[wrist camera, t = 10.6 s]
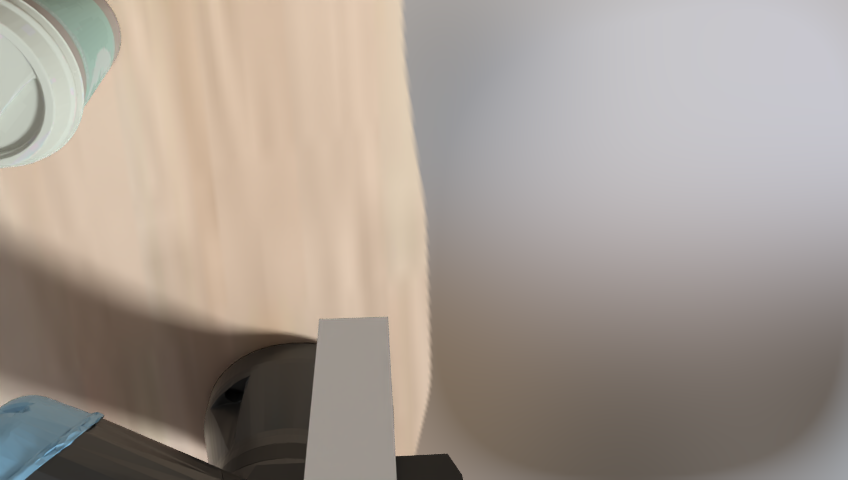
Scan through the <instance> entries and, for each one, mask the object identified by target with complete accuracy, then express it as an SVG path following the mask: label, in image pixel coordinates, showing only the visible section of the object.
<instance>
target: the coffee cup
mask: <svg viewBox="0 0 848 480" xmlns="http://www.w3.org/2000/svg"><path fill="white" fill-rule="evenodd" d="M120 45H121V33H120V27H119V24H118V21H117V18H116V16H115V14H114V12H113V10H112V9H111V7H110V6H109V4H108V3H107V2H106V1H105V0H0V168H5V167H17V166H22V165H27V164H30V163H34V162H36V161H39V160H41V159H43V158H45V157H48V156H50V155H52V154H53V153H55V152H57V151H58V150H59V149H61V148H62V147H63V146H64V145H65V144H66V143H67V142H68V141H69V140H70V139H71V137H72V136H73V135H74V133H75V131H76V130H77V128H78V126H79V123H80V121H81V117H82V114H83V108H84V106H85V105H86V103H87V102H88V100H89V99H90V97H91V96H92V94H93V93H94V91H95V90H96V88H97V87H98V85H99V84H100V82H101V81H102V79H103V78H104V76H105V75H106V73H107V72H108V70H109V69H110V67H111V66H112V64H113V63H114V61H115V59H116V58H117V55H118V53H119V50H120Z"/></svg>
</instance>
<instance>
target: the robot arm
mask: <svg viewBox="0 0 848 480" xmlns="http://www.w3.org/2000/svg"><path fill="white" fill-rule="evenodd" d="M103 417H104V415H103V414H101V413H99V412H95V413H88V412H85V411H83V410H80V409H77V408H74V407H72V406H69V405H66V404H64V403H61V402H58V401H55V400H53V399H50V398H47V397H43V396H38V395H29V396H22V397H19V398H16V399H13V400H11V401H9V402H8V403H6V404H4V405H3V406H1V407H0V480H463V478H462V474H461V473H460V471H459V470H458V468H457V467H456V465H455V464H454V463H453V461H452V460H451V458H450V457H449V455H448V454H434V455H414V456H395V438H394V411H393V401H392V382H391V364H390V345H389V326H388V317H368V318H339V319H319V328H318V339H317V344H307V343H291V344H282V345H276V346H271V347H267V348H264V349H261V350H258V351H255V352H253V353H251V354H249V355H247V356H245V357H243V358H241V359H240V360H238V361H237V362H235V363H234V364H233V365H231V366H230V367H229V368H228V369H227V370H226V371H225V372H224V373H223V374H222V375H221V377H220V378H219V379H218V381H217V383H216V384H215V386H214V388H213V391H212V393H211V397H210V400H209V403H208V407H207V410H206V414H205V421H204V436H205V443H206V450H207V456H208V463H206V462H204V461H202V460H199V459H197V458H195V457H192V456H190V455H188V454H185V453H183V452H181V451H178V450H176V449H174V448H171V447H169V446H167V445H164V444H162V443H160V442H157V441H155V440H153V439H150V438H148V437H145V436H143V435H141V434H138V433H136V432H134V431H131V430H129V429H127V428H124V427H122V426H120V425H117V424H115V423H113V422H110V421H108V420H106V419H103Z"/></svg>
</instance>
